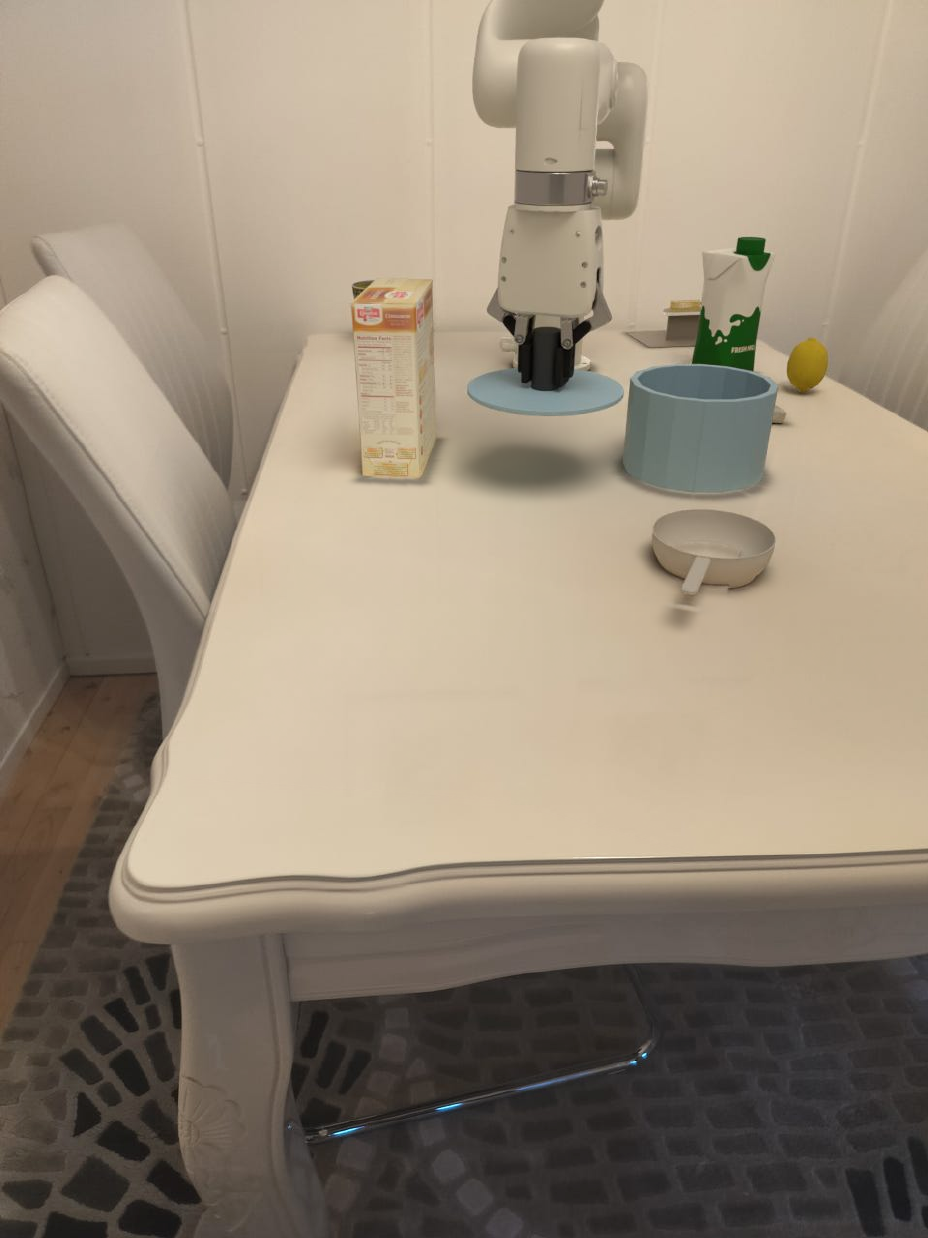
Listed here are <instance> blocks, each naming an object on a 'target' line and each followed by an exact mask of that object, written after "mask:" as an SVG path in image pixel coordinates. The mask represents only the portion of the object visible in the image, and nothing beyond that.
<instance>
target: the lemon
mask: <svg viewBox="0 0 928 1238" xmlns="http://www.w3.org/2000/svg"><path fill="white" fill-rule="evenodd" d="M828 363H829V356H828V351H827V348H826V347H825V346H824V344H823V343H821V342H820V341H819V340H817V339H816V337H808V339H805V340H803V341H801V342H799V343H798V344H797V345H795V346H794V348H793V349H792V350H791V353H790V355H789V357H788V360H787V362H786V376H787V380H788V381H789V383H790V384H791V386H793V387H795V388H796V389H797V390H798V391H799V393H802V394H804V393H805V392H807V391H809V390H810V389H813V388H815V387H817V386H818V385H819V384H820V383H821V382H822V381H823V380H824V378H825V376H826V373H827V371H828V365H829V364H828Z"/></svg>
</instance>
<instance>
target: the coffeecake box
mask: <svg viewBox="0 0 928 1238" xmlns="http://www.w3.org/2000/svg"><path fill="white" fill-rule="evenodd" d="M374 280H375V281H374V282H373V283H371V284H370V285H369V286H368V287H367V288H366V289H365V290H364V291H363V292H362V293H361V294H359V295H358V296H357V297H356V298H355V299H354V298H353V300H352V301H351V302H350V303H349V305H350V312H351V325H352V339H353V340H352V341H353V352H354V354H353V356H354V369H355V381H356V382H355V383H356V394H357V395H356V396H357V409H358V411H357V412H358V426H359V427H358V428H359V441H360V457H361V458H360V459H361V474H362V476H364V477H365V476H366V477H386V478H387V477H389V478H390V477H391V478H413V479H414V478H417V479H419V478H421V477H422V475H423V473H424V471H425V469H426V466H427V464H428V461H429V459H430V456H431V453H432V451H433V448H434V446H435V443H436V440H437V421H436V420H437V419H436V418H437V417H436V415H437V414H436V374H435V373H436V372H435V371H436V369H435V339H434V338H435V334H434V333H435V331H434V298H433V296H434V293H433V290H434V289H433V288H434V287H433V283H434V279H430V278H429V279H427V278H404V277H403V278H401V277H381V278H376V279H374Z"/></svg>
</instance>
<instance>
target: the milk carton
mask: <svg viewBox="0 0 928 1238" xmlns="http://www.w3.org/2000/svg"><path fill="white" fill-rule="evenodd" d="M766 242H767V239H766V238H765V237H760V236H740V237H738V238H737V242H736V247H729V248H722V249H713V250H712V249H711V250H703V251H701V256H702V268H703V284H702V285H703V286H702V294H701V300H700V303H701V304H700V306H701V309H700V317H699V325H698V332H697V339H696V344H695V346H694V348H693V353H692V358H691V362H690V364H706V365H717V366H728V367H733V368H738V369H743V370H748V371H753V372H755V371H754V370H755V360H756V349H757V340H758V334H759V327H760V321H761V316H762V309H763V302H764V296H765V289H766V283H767V281H768V277H769V274H770V272H771V268H772V266H773V263H774V260H775V257H776V253H775V252H771V251H765V247H766Z"/></svg>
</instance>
